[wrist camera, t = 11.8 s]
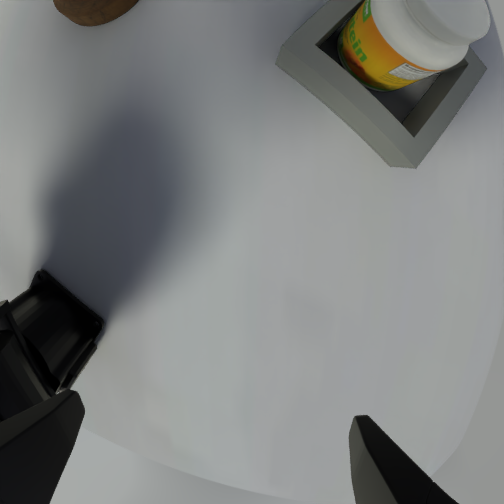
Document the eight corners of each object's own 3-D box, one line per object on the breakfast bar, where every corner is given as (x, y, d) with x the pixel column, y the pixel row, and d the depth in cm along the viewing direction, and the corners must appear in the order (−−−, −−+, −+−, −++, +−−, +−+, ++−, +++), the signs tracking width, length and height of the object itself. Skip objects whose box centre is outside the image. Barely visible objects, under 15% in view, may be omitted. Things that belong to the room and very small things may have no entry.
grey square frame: (275, 64, 17) (281, 45, 14) (361, -17, 15) (378, -40, 12) (389, 166, 19) (416, 168, 16) (458, 76, 17) (487, 68, 14)
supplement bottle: (329, 17, 16) (383, -66, 7) (402, 26, 16) (482, -32, 7) (340, 91, 18) (415, 39, 8) (415, 96, 18) (513, 66, 8)
